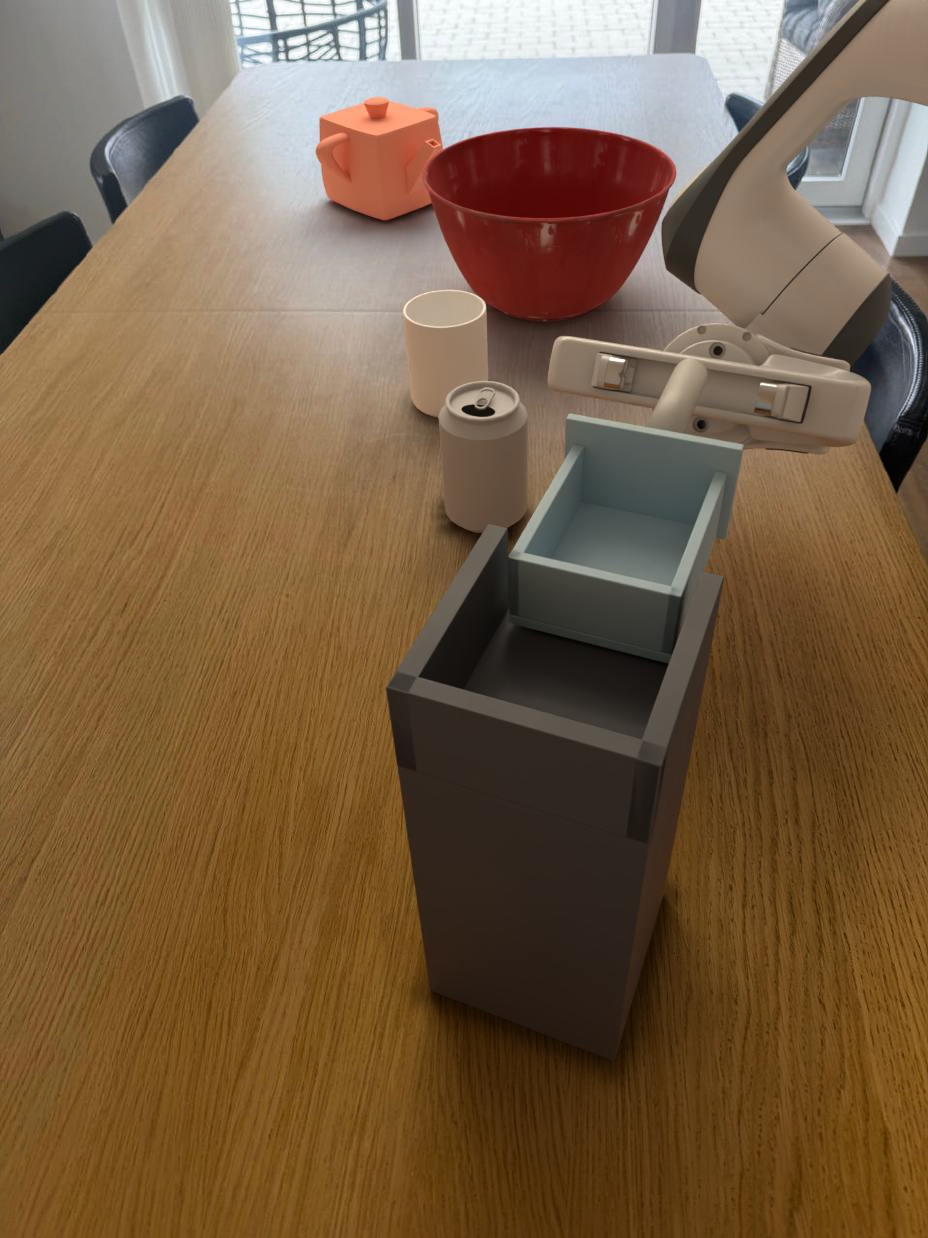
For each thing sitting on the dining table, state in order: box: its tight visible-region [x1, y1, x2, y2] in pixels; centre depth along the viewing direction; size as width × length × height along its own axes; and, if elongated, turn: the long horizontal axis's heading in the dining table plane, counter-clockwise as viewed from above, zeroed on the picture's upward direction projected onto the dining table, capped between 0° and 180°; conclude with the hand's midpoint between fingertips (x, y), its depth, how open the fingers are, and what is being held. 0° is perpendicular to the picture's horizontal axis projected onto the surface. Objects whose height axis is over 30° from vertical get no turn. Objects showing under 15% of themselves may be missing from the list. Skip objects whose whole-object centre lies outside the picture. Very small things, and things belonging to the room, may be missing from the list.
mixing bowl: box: [423, 126, 677, 323], centre depth 114 cm, size 28×28×15 cm
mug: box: [402, 289, 489, 418], centre depth 100 cm, size 12×8×10 cm
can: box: [438, 380, 529, 534], centre depth 84 cm, size 8×8×12 cm
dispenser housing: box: [385, 524, 725, 1062], centre depth 49 cm, size 11×11×26 cm
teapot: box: [315, 96, 444, 221], centre depth 138 cm, size 20×22×14 cm
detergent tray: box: [508, 358, 744, 664], centre depth 50 cm, size 9×20×6 cm, turn 157°
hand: (687, 385), depth 57 cm, fingers open, 8 cm apart
